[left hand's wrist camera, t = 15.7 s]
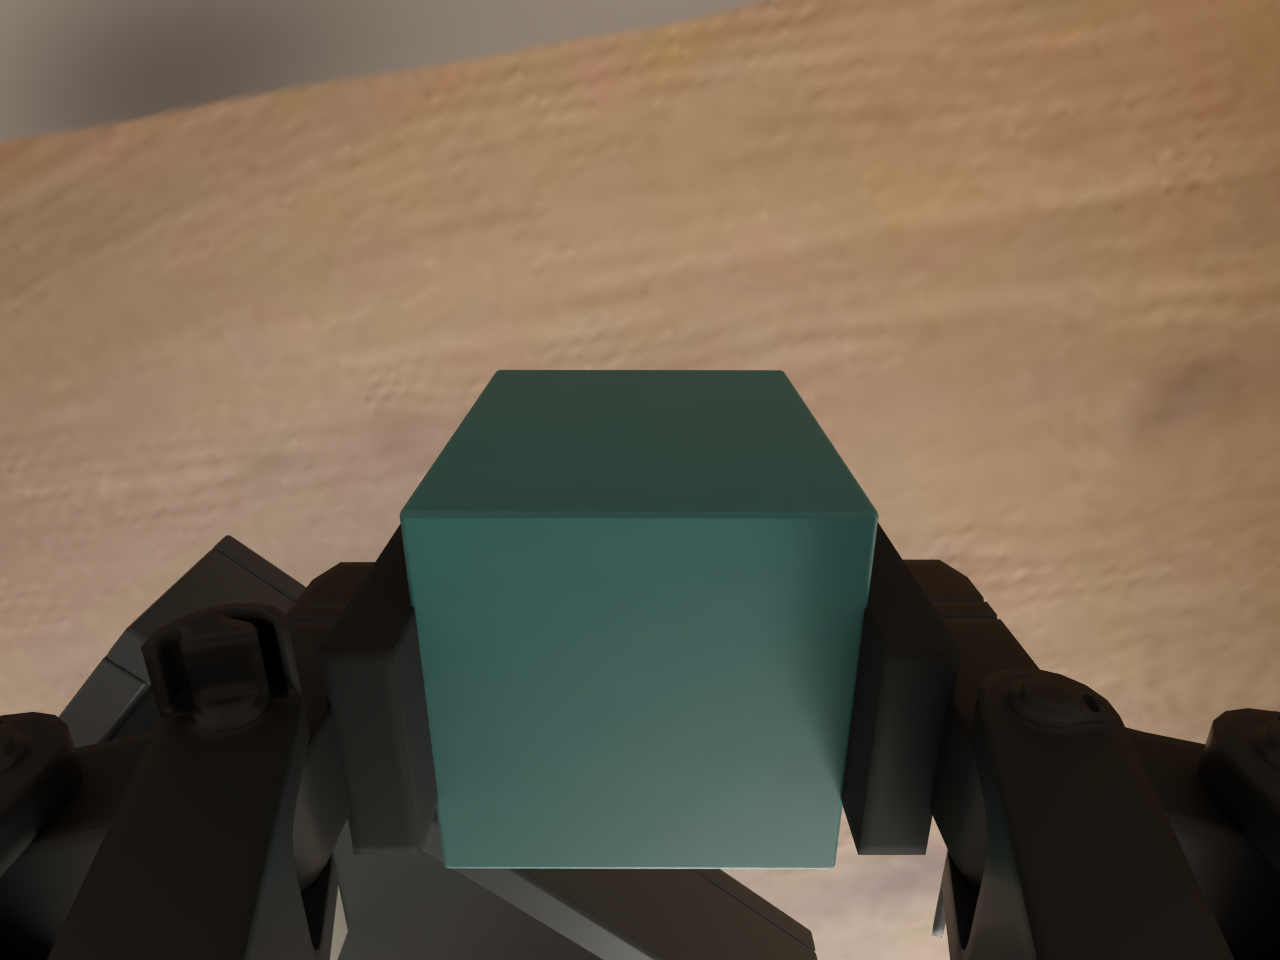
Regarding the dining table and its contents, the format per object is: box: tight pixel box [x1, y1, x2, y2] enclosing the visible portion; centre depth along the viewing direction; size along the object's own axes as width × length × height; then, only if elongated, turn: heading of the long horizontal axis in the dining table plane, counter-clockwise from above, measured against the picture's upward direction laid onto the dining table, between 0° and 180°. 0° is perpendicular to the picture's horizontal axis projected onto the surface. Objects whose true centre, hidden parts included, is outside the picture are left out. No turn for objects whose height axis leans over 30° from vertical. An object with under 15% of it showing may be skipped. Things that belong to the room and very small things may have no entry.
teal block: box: [400, 370, 879, 869], centre depth 12 cm, size 5×5×6 cm
